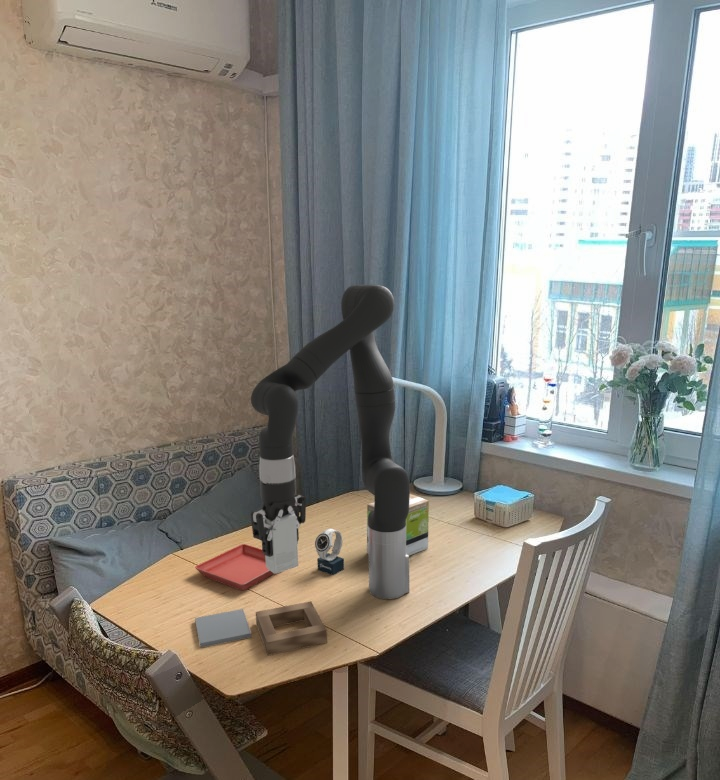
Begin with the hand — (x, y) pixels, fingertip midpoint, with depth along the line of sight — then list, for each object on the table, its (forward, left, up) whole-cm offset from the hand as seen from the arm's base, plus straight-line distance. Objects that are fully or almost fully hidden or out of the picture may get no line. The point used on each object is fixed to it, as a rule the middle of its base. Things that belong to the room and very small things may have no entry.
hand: (281, 549), depth 144 cm
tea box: (-39, -30, -20) cm, 53 cm away
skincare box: (0, 0, -5) cm, 5 cm away
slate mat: (+13, -7, -20) cm, 24 cm away
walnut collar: (-1, 0, -20) cm, 20 cm away
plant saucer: (+4, -33, -20) cm, 39 cm away
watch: (-18, -26, -20) cm, 37 cm away
